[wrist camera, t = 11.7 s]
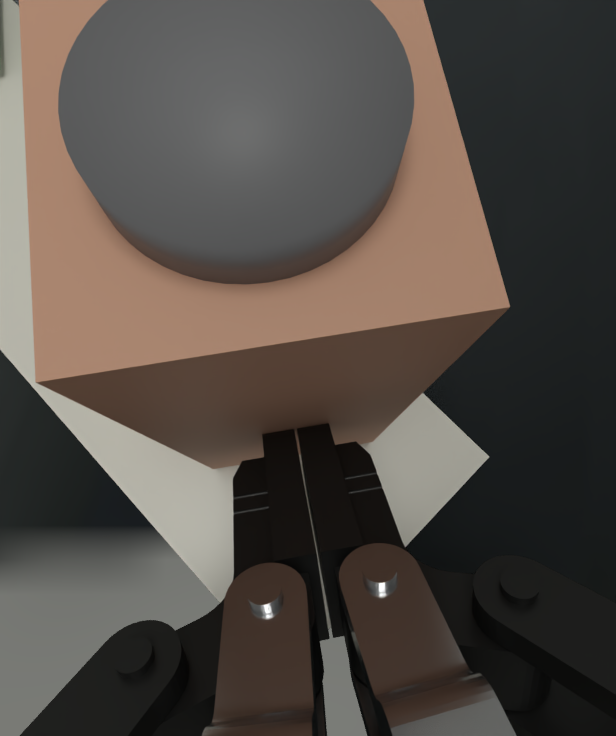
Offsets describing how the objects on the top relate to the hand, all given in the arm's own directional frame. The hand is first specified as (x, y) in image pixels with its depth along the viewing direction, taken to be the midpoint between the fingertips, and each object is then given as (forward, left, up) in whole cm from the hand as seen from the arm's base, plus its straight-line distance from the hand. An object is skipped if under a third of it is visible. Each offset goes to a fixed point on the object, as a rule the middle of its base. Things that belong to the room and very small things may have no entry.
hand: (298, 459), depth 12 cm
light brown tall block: (0, -3, -5) cm, 6 cm away
